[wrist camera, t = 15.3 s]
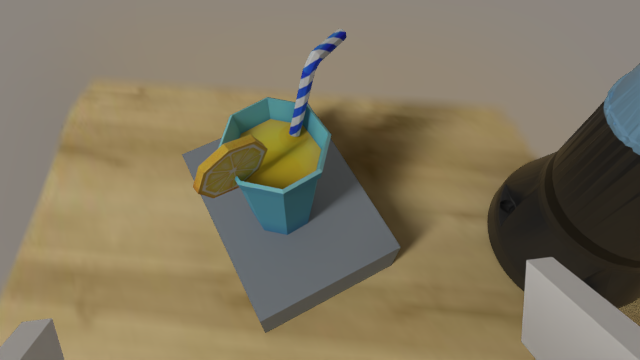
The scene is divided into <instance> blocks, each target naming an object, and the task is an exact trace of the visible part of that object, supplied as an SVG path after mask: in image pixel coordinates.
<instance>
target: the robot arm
mask: <svg viewBox="0 0 640 360" xmlns="http://www.w3.org/2000/svg"><path fill="white" fill-rule="evenodd" d="M488 233H489V239H490V242H491V246H492V249H493V251H494V253H495V256H496V258H497V260H498V261H499V263H500V265H501V266H502V268H503V269H504V271H505V272H506V273H507V275H508V276H509V277H510V278H511V279H512V280H513V282H514V283H515V284H516V285H517V286H519V287H520V288H521V289H522V290H523V291H524V308H523V324H522V340H521V342H522V343H523V344H524V345H525V346H526V348H527V349H528V350H529V351H530V353H531V354H532V355H533V356H534V358H535V359H536V360H640V326H639V325H637V324H636V323H635V322H633V321H632V320H631V319H630V318H628V317H627V316H626V315H625V314H623V313H622V312H621V311H620V310H618V308H621V307H623V306H626V305H628V304H630V303H632V302H634V301H635V300H637V299H638V298H640V64H639V65H637V66H636V67H635V68H634V69H633V70H632V71H631V72H629V73H628V74H626V75H624V76H623V77H622V78H620V79H619V80H618V81H617V82H616V83H615V84H614V85H613V86H612V88H611V89H610V90H609V92H608V96H607V97H606V99H605V101H604V102H603V103H602V104H601V105H600V106H599V107H598V109H597V110H596V111H595V112H594V113H593V114H592V115H591V116H590V117H589V118H588V119H587V120H586V121H585V122H584V123H583V124H582V126H581V127H580V128H579V129H578V130H577V131H576V132H575V133H574V134H573V135H572V136H571V137H570V138H569V139H568V141H567V142H566V143H565V144H564V145H563V146H562V147H561V148H560V149H559V150H558V151H557V152H555V153H552V154H550V155H547V156H545V157H542V158H540V159H537V160H535V161H532V162H530V163H528V164H525V165H524V166H522V167H520V168H519V169H518V170H516V171H515V172H514V173H512V174H511V175H510V176H509V177H508V178H507V180H506V181H505V182H504V183H503V184H502V186H501V187H500V188H499V189H498V191H497V192H496V194H495V196H494V197H493V199H492V202H491V205H490V208H489V213H488ZM0 360H64V357H63V353H62V350H61V347H60V343H59V340H58V337H57V333H56V330H55V327H54V323H53V320H52V318H51V319H43V320H35V321H26V322H22V323H21V324H20V325H19V326H18V327H17V329H16V330H15V331H14V332H13V333H12V334H11V336H10V337H9V338H8V339H7V340H6V341H5V342H4V344H3V345H2V346H1V347H0Z"/></svg>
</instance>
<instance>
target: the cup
mask: <svg viewBox="0 0 640 360" xmlns="http://www.w3.org/2000/svg"><path fill="white" fill-rule="evenodd" d="M345 38H346V32H345V31H344V30H343V29H338V30H337V31H335V32H334V33H333V34H332V35H331V36H329V37H328V38H327V39H326V40H324V41H323V42H322V43H321V44H320V45H319V46H317V47H316V48H315V49H314V50H312V52H311V53H310V55H309V57H308V59H307V62H306V64H305V66H304V68H303V72H302V76H301V81H300V85H299V90H298V94H297V99H296V102H291V101H286V100H280V99H275V98H269V97H267V98H265V99H262V100H260V101H258V102H256V103H254V104H252V105H250V106H248V107H246V108H244V109H242V110H240V111H238V112H236V113H234V114H232V115H230V117H229V120H228V123H227V125H226V128H225V131H224V133H223V136H222V139H221V142H220V144H219V147H218V149H217V150H216V151H215V152H214V153H213V154H212V155H210V156H209V157H208V158H207V159H206V160H205V161H204V162H203V163H202V164H201V165H199V166H198V170H197V173H196V177H195V181H194V185H193V187H194V189H195V190H196V192H197V193H198V194H201V195H204V196H207V197H210V198H215V197H218V196H220V195H223V194H225V193H227V192H230V191H232V190H234V189H237V188H239V187H240V189H241V190H242V192H243V194H244V196H245V198H246V200H247V202H248V204H249V206H250V208H251V210H252V212H253V213H254V215H255V216H256V218H257V220H258V221H259V223H260V224H261V226H262V227H263V229H264V230H266V231H270V232H275V233H280V234H285V235H288V234H290V233H292V232H294V231H295V230H297V229H299V228H300V227H302V226H304V225H305V224H307V223H308V220H309V216H310V212H311V208H312V204H313V199H314V195H315V190H316V185H317V181H318V179H319V178H321V175H322V171H323V167H324V163H325V159H326V155H327V151H328V146H329V142H330V138H331V134H330V132H329V131H328V130H327V128H326V127H325V126H324V125H323V123H322V122H321V121H320V119H319V118H318V117H317V116H316V114H315V113H314V112H313V110H312V109H311V108H310V107H309V105H307V102H308V98H309V94H310V90H311V86H312V82H313V78H314V73H315V71H316V69H317V66H318V65H319V63H320V62H321V61H322V60H323V59H324V58H325V57H326V56H327V55H328V54H329V53H331V52H332V51H333V50H334V49H335V48H336V47H337V46H338V45H339V44H340V43H341V42H342V41H344V40H345Z"/></svg>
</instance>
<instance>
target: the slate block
mask: <svg viewBox="0 0 640 360" xmlns="http://www.w3.org/2000/svg"><path fill="white" fill-rule="evenodd" d="M307 105H309V104H308V102H307ZM309 107H310V106H309ZM310 108H311V107H310ZM221 139H222V138H220V139H218V140H216V141H213V142H211V143H209V144H206V145H204V146H201V147H199V148H197V149H194V150H192V151H190V152H187V153H185V154H182V156H183V158H184V160H185V162H186V164H187V166H188V169H189V171H190V173H191V175H192V177H193V179H194V181H195V177H196V173H197V170H198V166H199V165H201V164H202V163H203V162H204V161H205V160H206V159H207V158H208V157H209V156H210V155H212V154H213V153H214V152H215V151H216V150H217V149H218V147H219V144H220V142H221ZM201 196H202V199H203V201H204V203H205V205H206V207H207V209H208V211H209V214H210V216H211V218H212V220H213V222H214V224H215V226H216V229H217V231H218V233H219V235H220V237H221V239H222V241H223V244H224V246H225V248H226V250H227V252H228V254H229V256H230V259H231V261H232V263H233V265H234V267H235V269H236V271H237V274H238V276H239V278H240V280H241V282H242V284H243V286H244V289H245V291H246V293H247V295H248V297H249V299H250V301H251V304H252V306H253V308H254V310H255V312H256V314H257V316H258V319H259V321H260V323H261V325H262V327H263V329H264V331H265V333H266V332H268V331H270V330H272V329H274V328H276V327H277V326H279V325H281V324H283V323H285V322H287V321H289V320H290V319H292V318H294V317H296V316H298V315H300V314H302V313H303V312H305V311H307V310H309V309H311V308H313V307H315V306H316V305H318V304H320V303H322V302H324V301H326V300H328V299H329V298H331V297H333V296H335V295H337V294H339V293H340V292H342V291H344V290H346V289H348V288H350V287H352V286H353V285H355V284H357V283H359V282H361V281H363V280H365V279H366V278H368V277H370V276H372V275H374V274H376V273H378V272H379V271H381V270H383V269H385V268H387V267H389V266H391V265H392V263H393V261H394V259H395V257H396V255H397V253H398V252H399V250H400V248H401V247H400V245H399V244H398V242H397V240H396V239H395V237H394V236H393V234H392V233H391V231H390V230H389V228H388V227H387V225H386V223H385V222H384V220H383V219H382V217H381V216H380V214H379V213H378V211H377V209H376V208H375V206H374V205H373V203H372V202H371V200H370V199H369V197H368V196H367V194H366V192H365V191H364V189H363V188H362V186H361V185H360V183H359V182H358V180H357V178H356V177H355V175H354V174H353V172H352V171H351V169H350V168H349V166H348V164H347V163H346V161H345V160H344V158H343V157H342V155H341V154H340V152H339V151H338V149H337V147H336V146H335V144H334V143H333V141H332V140H331V138H330V142H329V146H328V151H327V155H326V159H325V163H324V167H323V171H322V175H321V178H319V179H318V181H317V185H316V190H315V195H314V199H313V204H312V208H311V212H310V216H309V220H308V223H307V224H305V225H304V226H302V227H300V228H299V229H297V230H295V231H294V232H292V233H290V234H288V235H285V234H280V233H275V232H270V231H266V230H264V229H263V227H262V226H261V224H260V223H259V221H258V220H257V218H256V216H255V215H254V213H253V212H252V210H251V208H250V206H249V204H248V202H247V200H246V198H245V196H244V194H243V192H242V190H241V189H240V187H239V188H237V189H234V190H232V191H230V192H227V193H225V194H223V195H220V196H218V197H215V198H210V197H207V196H204V195H201Z"/></svg>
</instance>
